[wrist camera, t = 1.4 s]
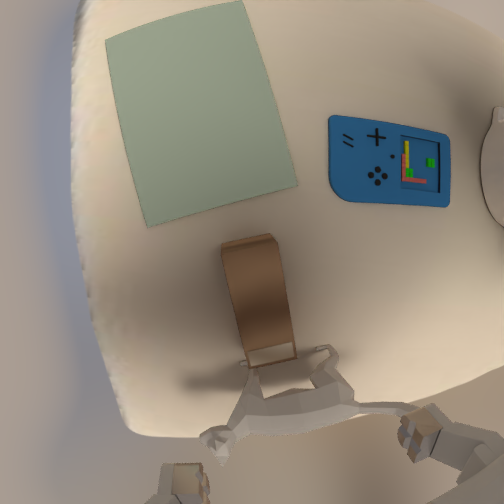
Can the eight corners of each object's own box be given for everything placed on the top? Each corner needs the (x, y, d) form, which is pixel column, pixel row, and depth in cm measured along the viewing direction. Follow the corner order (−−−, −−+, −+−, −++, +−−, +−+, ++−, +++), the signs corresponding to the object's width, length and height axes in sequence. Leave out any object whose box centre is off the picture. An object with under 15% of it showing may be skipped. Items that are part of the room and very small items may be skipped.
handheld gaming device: (330, 113, 25) (451, 135, 26) (327, 116, 26) (445, 136, 27) (331, 201, 27) (451, 208, 28) (327, 200, 28) (445, 207, 29)
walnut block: (221, 243, 28) (220, 254, 24) (269, 232, 28) (277, 242, 24) (245, 345, 31) (249, 370, 26) (288, 335, 31) (297, 359, 26)
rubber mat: (241, 3, 22) (241, 0, 22) (296, 185, 27) (297, 185, 27) (107, 41, 22) (105, 39, 22) (149, 226, 27) (147, 227, 26)
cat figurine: (200, 364, 31) (189, 467, 17) (378, 330, 32) (446, 404, 18) (208, 394, 32) (205, 495, 18) (376, 361, 33) (434, 438, 19)
